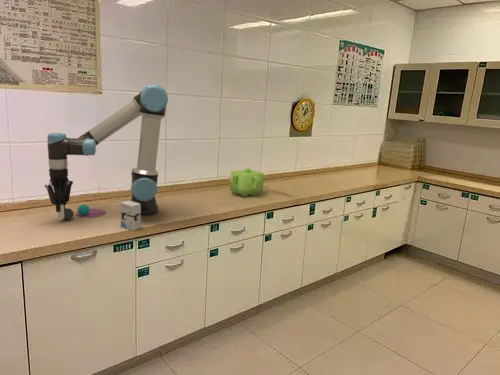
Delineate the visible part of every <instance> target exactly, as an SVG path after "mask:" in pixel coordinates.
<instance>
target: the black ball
mask: <svg viewBox="0 0 500 375" xmlns="http://www.w3.org/2000/svg"><path fill="white" fill-rule="evenodd" d="M74 215H75V214H74V210H72V209H71V208H69V207H67V208H66V207H65V211H64V218H63V219H62V220H64V221H70V220H71V219H73V217H74Z"/></svg>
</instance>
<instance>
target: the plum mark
mask: <svg viewBox="0 0 500 375" xmlns="http://www.w3.org/2000/svg"><path fill="white" fill-rule="evenodd" d="M89 209H90V211H89V213H88V214H87V215H84V216H83V215H80V214H79V213H78V211H76V212H75V215H76V216H77V217H79V218H97V217H102V216H104V215H106V213H107V212H106V211H105V210H104V209H103V208H89Z"/></svg>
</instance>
